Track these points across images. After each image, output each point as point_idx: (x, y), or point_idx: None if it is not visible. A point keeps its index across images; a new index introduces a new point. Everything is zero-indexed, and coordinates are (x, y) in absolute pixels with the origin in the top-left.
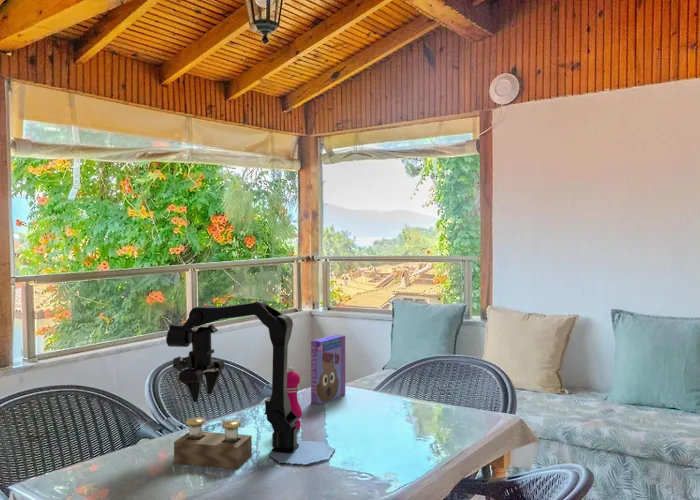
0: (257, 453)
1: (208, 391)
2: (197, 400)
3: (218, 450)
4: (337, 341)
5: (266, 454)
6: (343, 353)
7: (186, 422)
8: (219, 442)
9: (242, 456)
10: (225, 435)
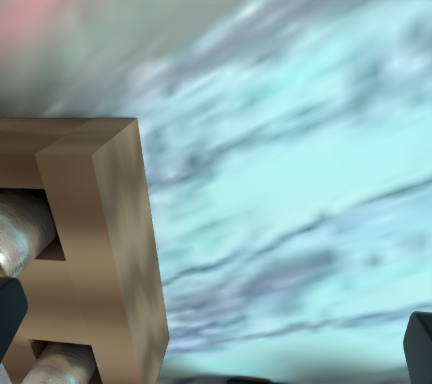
0: (199, 347)
1: (428, 350)
2: (9, 328)
3: None
4: None
5: (199, 369)
6: None
7: None
8: (21, 335)
9: None
10: (27, 374)
